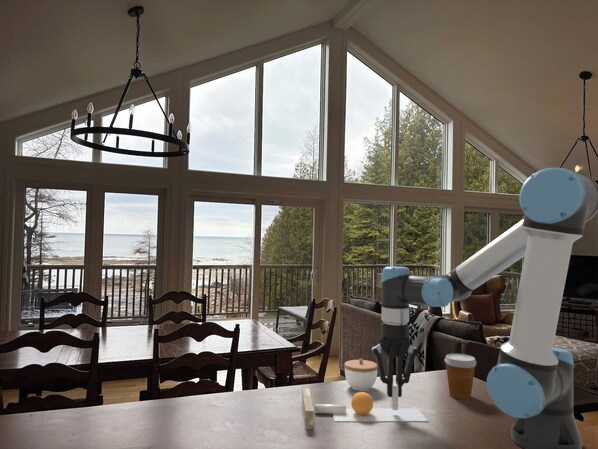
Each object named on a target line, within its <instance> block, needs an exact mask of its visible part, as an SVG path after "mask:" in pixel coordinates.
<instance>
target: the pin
mask: <svg viewBox="0 0 598 449" xmlns="http://www.w3.org/2000/svg"><path fill="white" fill-rule="evenodd" d="M346 408H347V405H346V404H329V403H328V404H327V403H326V404H325V403H323V404H322V403H315V405H314V413H315V414H324V415H325V414H328V415H333V414H346Z"/></svg>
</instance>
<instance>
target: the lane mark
mask: <svg viewBox="0 0 598 449" xmlns="http://www.w3.org/2000/svg"><path fill="white" fill-rule="evenodd" d="M332 418H333V420H334V422H336V423H342V422H343V423H345V422H346V423H349V422H352V423H357V422H358V423H360V422H361V423H366V422H367V423H371V422H372V423H373V422H377V423H378V422H379V423H383V422H384V423H385V422H386V423H390V422H391V423H392V422H393V423H396V422H399V423H401V422H402V423H403V422H405V423H409V422H411V423H413V422H414V423H415V422H418V423H420V422H421V423H428V422H429V420H428V419H427V417H425V415H424V414H423V413H422V412H421V410H420V409H419V408H404V407H403V408H399V407H398V410H392V408H391V407H390V408H386V407H385V408H382V407H381V408H374V407H373V408H372V410H371V411H370V413H368V414H366V415H359V414H357V413H356V412H355V411H354V410H353V408H352V407H351V408H347V407H346V414H332Z"/></svg>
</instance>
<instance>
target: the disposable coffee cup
mask: <svg viewBox="0 0 598 449" xmlns="http://www.w3.org/2000/svg"><path fill="white" fill-rule="evenodd" d="M477 362H478V361H477V360H476V358H475V357H474V356H472V355H468V354H465V353H464V354H463V353H449V354H446V355H445V358H444V363H445V367H446V376H447V383H448V390H449V391H448V392H449V393H448V394H449V396H450V397H451V398H454V399H458V400H468V399H469V400H470V399H471V397H472V393H473V392H472V391H473V389H472V388H473V384H474V382H473V381H474V376H475V368H476V366H477Z"/></svg>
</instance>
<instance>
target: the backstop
mask: <svg viewBox="0 0 598 449" xmlns="http://www.w3.org/2000/svg"><path fill="white" fill-rule="evenodd" d="M310 392H311V391H310V388H309V387H301V407H302V412H303V413H302V414H303V421H304V428H305V430H309V429H310V430H313V429H314V407H313V402H312V398H311V393H310Z"/></svg>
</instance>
